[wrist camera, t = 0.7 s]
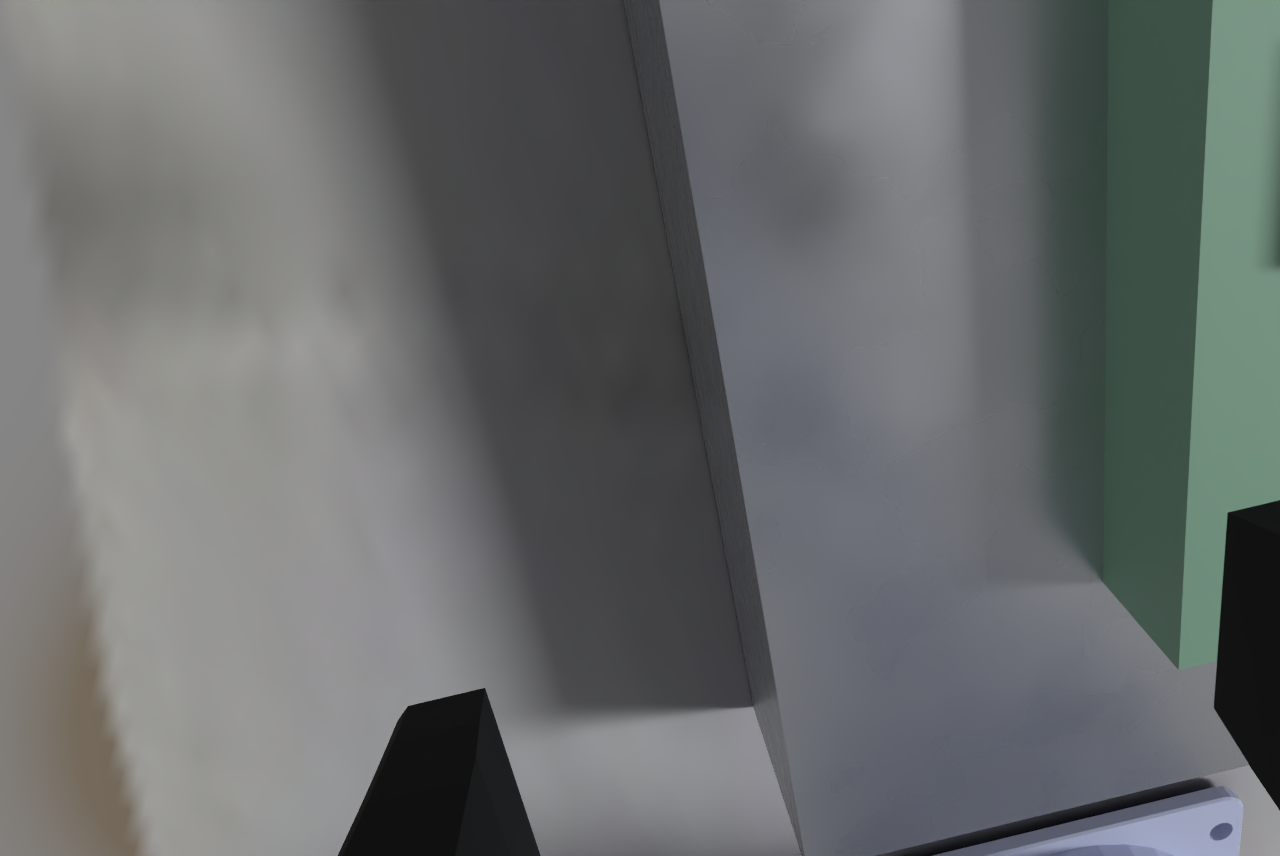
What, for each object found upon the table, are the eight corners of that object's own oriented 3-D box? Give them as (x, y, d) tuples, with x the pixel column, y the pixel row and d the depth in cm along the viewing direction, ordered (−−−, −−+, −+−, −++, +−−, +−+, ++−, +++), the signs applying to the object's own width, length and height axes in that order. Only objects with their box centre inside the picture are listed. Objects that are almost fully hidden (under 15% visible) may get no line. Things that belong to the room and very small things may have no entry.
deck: (1437, 545, 22) (1618, 674, 19) (754, 708, 22) (807, 871, 18) (1650, -638, 14) (2049, -805, 10) (547, -411, 14) (573, -502, 10)
